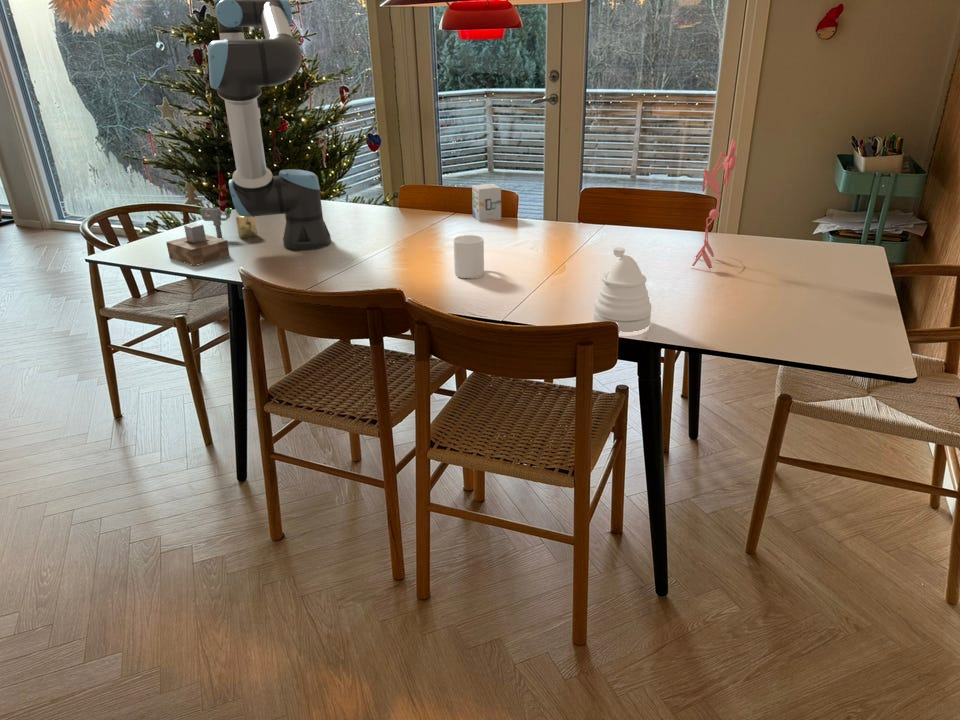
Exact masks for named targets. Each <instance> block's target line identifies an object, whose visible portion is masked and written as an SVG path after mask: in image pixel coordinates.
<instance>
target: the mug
mask: <svg viewBox="0 0 960 720" xmlns="http://www.w3.org/2000/svg"><path fill="white" fill-rule="evenodd" d="M484 240H485V238H484V237H482V236H479V235H475V234H467V235H459V236H456V237H455V238H453V260H454V262H453V263H454V264H453V265H454V274H455V276H456V277H457V276H458V277H457V278H459V277H460V278H459V279H462V278H468V279H467V280H470V279H469V278H475V279H478V278H477V277H479V278H481V277H483V275H484V273H485V256H484V255H485V250H484V248H485V247H484V244H485V243H484V242H485V241H484ZM480 276H481V277H480Z"/></svg>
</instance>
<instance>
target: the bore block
mask: <svg viewBox="0 0 960 720" xmlns="http://www.w3.org/2000/svg"><path fill="white" fill-rule="evenodd" d="M205 236H206V242H203V243H199V244H195V245H192V244H189V243H187V238H186V236H185V237H181V238H177V239H173V240H168V241H166V242H165V243H166V246H167V251H168V252H167V253H168V255H169V258H170V259H172V260H175V261H177V262H181V263H184V262H185V263H184V264H187V263H188V264H187V265H190V264H192V265H191V266H193V265H196V266H198V265H197V264H200V265H202V264H201V263H204V264H207V263H210V261H211V262H214V261H217V259H218V260H221V259H220V258H222V259H224V257H225V258H229V257H230V256H231V255H230V249H229V244H228V240H226V239H223V238H221V239H220V238H217V236H212V235H210V234H209V235H208V234H206V233H205ZM228 256H229V257H228ZM213 260H214V261H213ZM206 262H207V263H206Z"/></svg>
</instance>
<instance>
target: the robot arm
mask: <svg viewBox="0 0 960 720" xmlns="http://www.w3.org/2000/svg"><path fill="white" fill-rule="evenodd" d="M213 2H214V3H213V4H214V5H213V6H214V12H215V17H216V22H217V26H218V32H219V33H218V34H219V39H217V40H216V39H215V40H212V41H211V42H209V43H208V45H207V56H208V59H207V61H208V62H207V63H208V75H209V79H208V80H209V87H210V88H211V89H214V90H216V93H217V95H218V96H219V97H220V98H221V99H222V100H224V105H225V111H226V116H227V123H228V127H229V134H230V138H231V139H230V140H231V141H230V142H231V145H232V151H233V157H234V162H235V163H234V164H235V169H236V170H234V171H233V173H232V178H231V179H229V180H228V187H229V193H230V195H231V200H232V204H233V207H234V209H235V211H236V213H237V215H240V216H242V217H262V216H274V215H282V214H283V215H284V216H285V226H284V230H283V231H284V232H283V237H282V242H283V243H282V244H283V247H284V248H285V249H287V250H292V251H293V250H295V251H310V250H311V251H312V250H316V249H320V248H325V247H328V246H329V245H331V243H332V239H331V237H332V236H331V233H330V232H329V229H328V226H327V225H326V222H325V219H324V216H323V215H324V214H323V207H322V199H321V186H320V182H319V177H318V175H316V174H315V173H314V172H312V171H309V170H303V169H281V170H280V171H279V172H278V175H273V173H272V171H271V169H270V168H268V167H267V162H266V157H265V155H266V154H265V149H264V142H263V135H262V127H261V121H260V120H261V119H262V115H261V107H260V97H261V96H263V93H264V92H263V91H262V87H275V86H278V85H282V84H284V83H286V82H287V81H289V80H291V78H293V77H294V75H295V74H297V72H298V70H299V68H300V67H301V64H302V61H303V60H302V59H303V52H302V48H301V46H300V44H299V42H298V40H297V39H296V38H295V37H294V36H293V33H292V30H291V27H290V26H291V25H292V23H293V15H292V14H293V13H292V6H291V3H290V1H289V0H213ZM250 27H251V28H252V27H253V28H254V27H255V28H256V27H258V28H259V27H260V28H261V27H262V30H263V33H264V38H259V39H258V38H254V39H252V38H250V39H248V38H247V39H245V32H244V28H250Z"/></svg>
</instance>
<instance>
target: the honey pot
mask: <svg viewBox="0 0 960 720" xmlns="http://www.w3.org/2000/svg"><path fill="white" fill-rule="evenodd" d="M612 249H613V255H614V256H615V257H616V258H618V259H617V260H616V261H615V262H614V264H613V265H612V267H611V268H610V270H609V271H607V272H604V273H603V274H602V275H601V277H600V278H601V282H603V284H602V287H600V290H599V293H598V295H597V298H596V300H595V302H594V308H593V309H594V311H593V321H614V322H617V323H618V325H619V332H620V331H622V332H633V331H639V330H642V329H645V328H646V327H648V326H649V325H650V326H651V315H652V314H651V313H652V303H651V302H650V296H649V291H648V289H647V286H646V283H647V277H646V276H645V275H644V274H643V273H642V271H641V269H640V267H639V265H638V263H637V262H636V260H635V259H634V258H633V257H631V256H630V255H625V251H626V248H625V247H620V246H617V247H613V248H612Z"/></svg>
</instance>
